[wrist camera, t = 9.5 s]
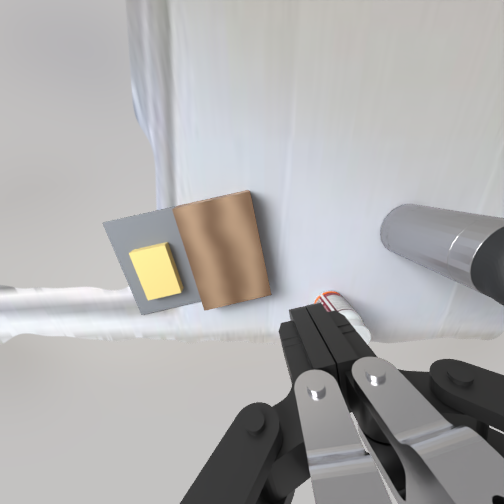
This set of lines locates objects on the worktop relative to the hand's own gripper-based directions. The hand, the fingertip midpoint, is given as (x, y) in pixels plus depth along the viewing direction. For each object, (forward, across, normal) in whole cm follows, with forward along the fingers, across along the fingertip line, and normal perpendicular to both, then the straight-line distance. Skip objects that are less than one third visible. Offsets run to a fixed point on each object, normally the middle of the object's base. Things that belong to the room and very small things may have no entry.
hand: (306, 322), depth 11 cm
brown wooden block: (+31, +6, +4) cm, 32 cm away
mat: (+31, +19, +4) cm, 36 cm away
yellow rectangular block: (+28, +18, +5) cm, 34 cm away
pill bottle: (+32, -11, +21) cm, 39 cm away
